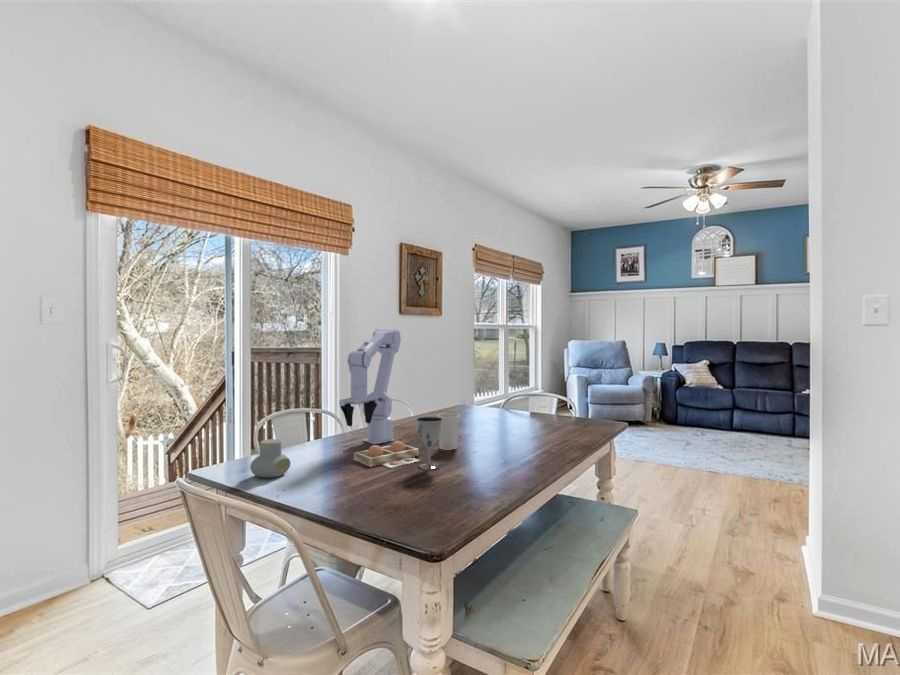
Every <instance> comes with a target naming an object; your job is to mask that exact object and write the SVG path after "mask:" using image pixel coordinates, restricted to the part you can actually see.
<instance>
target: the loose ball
mask: <svg viewBox="0 0 900 675" xmlns="http://www.w3.org/2000/svg"><path fill="white" fill-rule="evenodd" d="M381 447H382V446H380V445H379V444H378V445H377V444H372V445H371V446H370V447H369V448H368V449H367V450H368V456H369V457H371V458H373V457H377V456H382V455H383V450H382V448H381Z"/></svg>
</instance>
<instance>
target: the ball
mask: <svg viewBox="0 0 900 675" xmlns="http://www.w3.org/2000/svg"><path fill="white" fill-rule="evenodd" d="M390 445H391V447H390V450H391V452H394V453H397V452H401V451H405V445H406V444H405V443H403V441H401V440H394V441H392V443H391V444H390Z"/></svg>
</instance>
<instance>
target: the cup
mask: <svg viewBox="0 0 900 675" xmlns="http://www.w3.org/2000/svg"><path fill="white" fill-rule="evenodd" d="M436 417H440V418H442V431H441V435H440V437H439V439H438V442H439V448H440V449H444V450H452V449H456V448H457V449H458V439H459V427H460V426H459V425H460V417H461V416H460V414H457V413H451V412H450V413H447V412H446V413H438V414H437V415H436ZM440 449H439V450H440Z"/></svg>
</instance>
